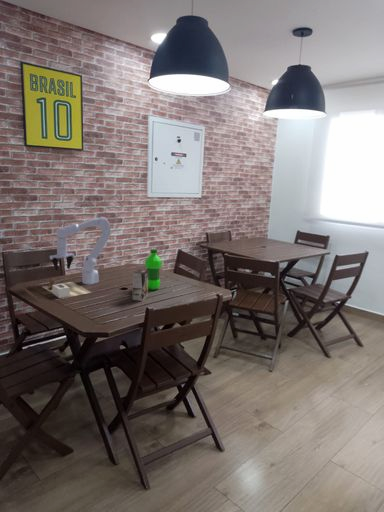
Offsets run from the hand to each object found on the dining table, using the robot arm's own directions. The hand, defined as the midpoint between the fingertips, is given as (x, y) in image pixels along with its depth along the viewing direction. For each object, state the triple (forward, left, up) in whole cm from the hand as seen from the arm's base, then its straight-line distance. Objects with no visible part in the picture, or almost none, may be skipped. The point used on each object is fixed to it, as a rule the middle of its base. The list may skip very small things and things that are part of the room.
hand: (62, 269), depth 225 cm
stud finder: (+10, +20, -9) cm, 24 cm away
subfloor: (+3, +12, -10) cm, 16 cm away
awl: (+9, +6, -10) cm, 15 cm away
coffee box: (-26, +46, -11) cm, 54 cm away
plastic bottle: (-43, +35, -11) cm, 57 cm away
